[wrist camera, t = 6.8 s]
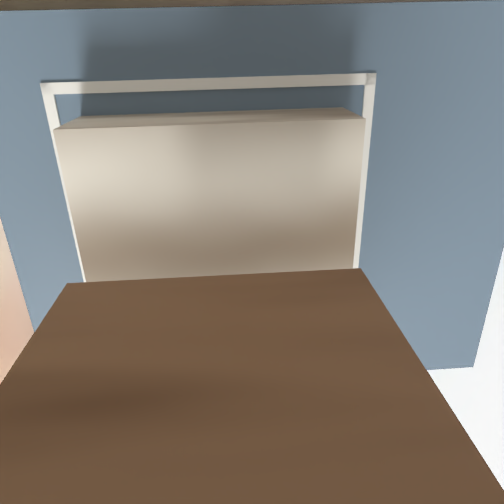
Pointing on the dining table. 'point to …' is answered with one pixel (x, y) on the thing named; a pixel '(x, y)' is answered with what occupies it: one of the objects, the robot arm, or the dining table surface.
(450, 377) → the dining table surface
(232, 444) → the walnut cube
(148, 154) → the plinth
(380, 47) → the board
